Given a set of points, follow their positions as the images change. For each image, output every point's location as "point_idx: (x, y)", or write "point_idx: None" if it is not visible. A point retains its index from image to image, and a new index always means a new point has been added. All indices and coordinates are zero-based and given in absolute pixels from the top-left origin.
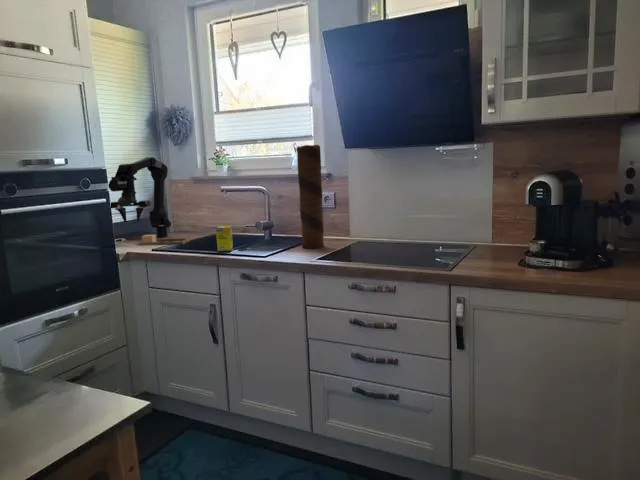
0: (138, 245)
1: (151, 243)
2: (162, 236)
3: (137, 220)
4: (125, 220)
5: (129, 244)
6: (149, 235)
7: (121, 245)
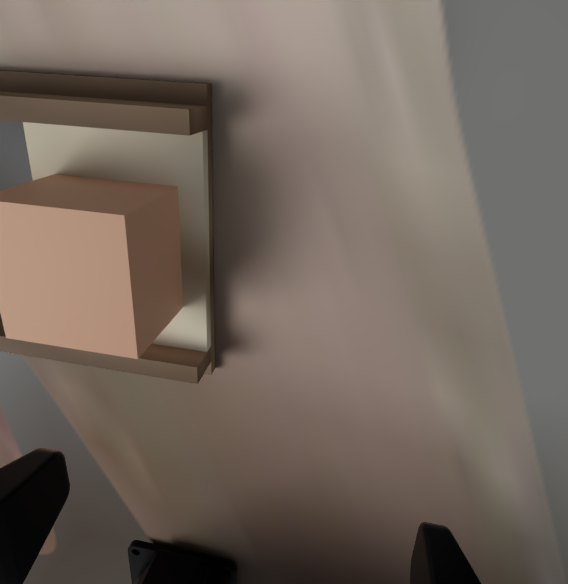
0: (198, 105)
1: (12, 95)
2: (148, 566)
3: (27, 468)
4: (419, 581)
5: (418, 388)
6: (44, 272)
7: (508, 348)
